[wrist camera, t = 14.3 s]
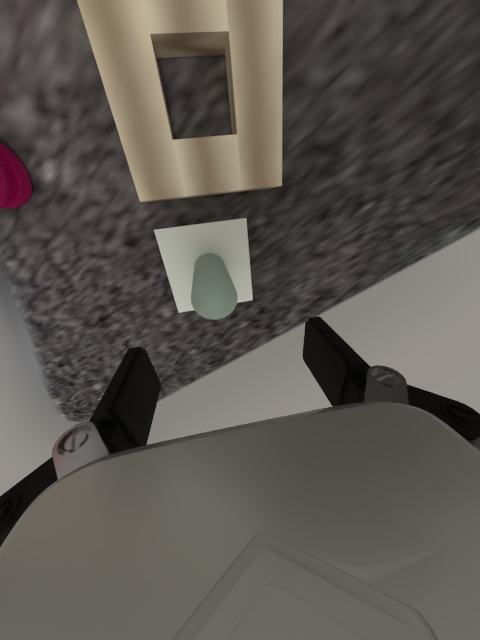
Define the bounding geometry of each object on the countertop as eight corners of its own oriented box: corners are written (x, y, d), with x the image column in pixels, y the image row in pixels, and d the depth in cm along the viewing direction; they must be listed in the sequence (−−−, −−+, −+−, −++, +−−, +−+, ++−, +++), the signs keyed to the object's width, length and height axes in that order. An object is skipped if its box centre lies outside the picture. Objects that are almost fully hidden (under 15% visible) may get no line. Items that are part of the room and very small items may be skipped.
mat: (245, 217, 26) (246, 218, 26) (251, 298, 32) (252, 300, 32) (154, 229, 25) (153, 229, 25) (179, 311, 31) (178, 312, 31)
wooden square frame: (270, -32, 17) (283, -74, 15) (273, 187, 25) (281, 185, 23) (77, -31, 16) (52, -79, 13) (146, 202, 24) (140, 201, 21)
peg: (223, 250, 27) (234, 272, 18) (227, 281, 30) (239, 315, 20) (191, 255, 27) (185, 280, 18) (197, 286, 29) (196, 322, 20)
